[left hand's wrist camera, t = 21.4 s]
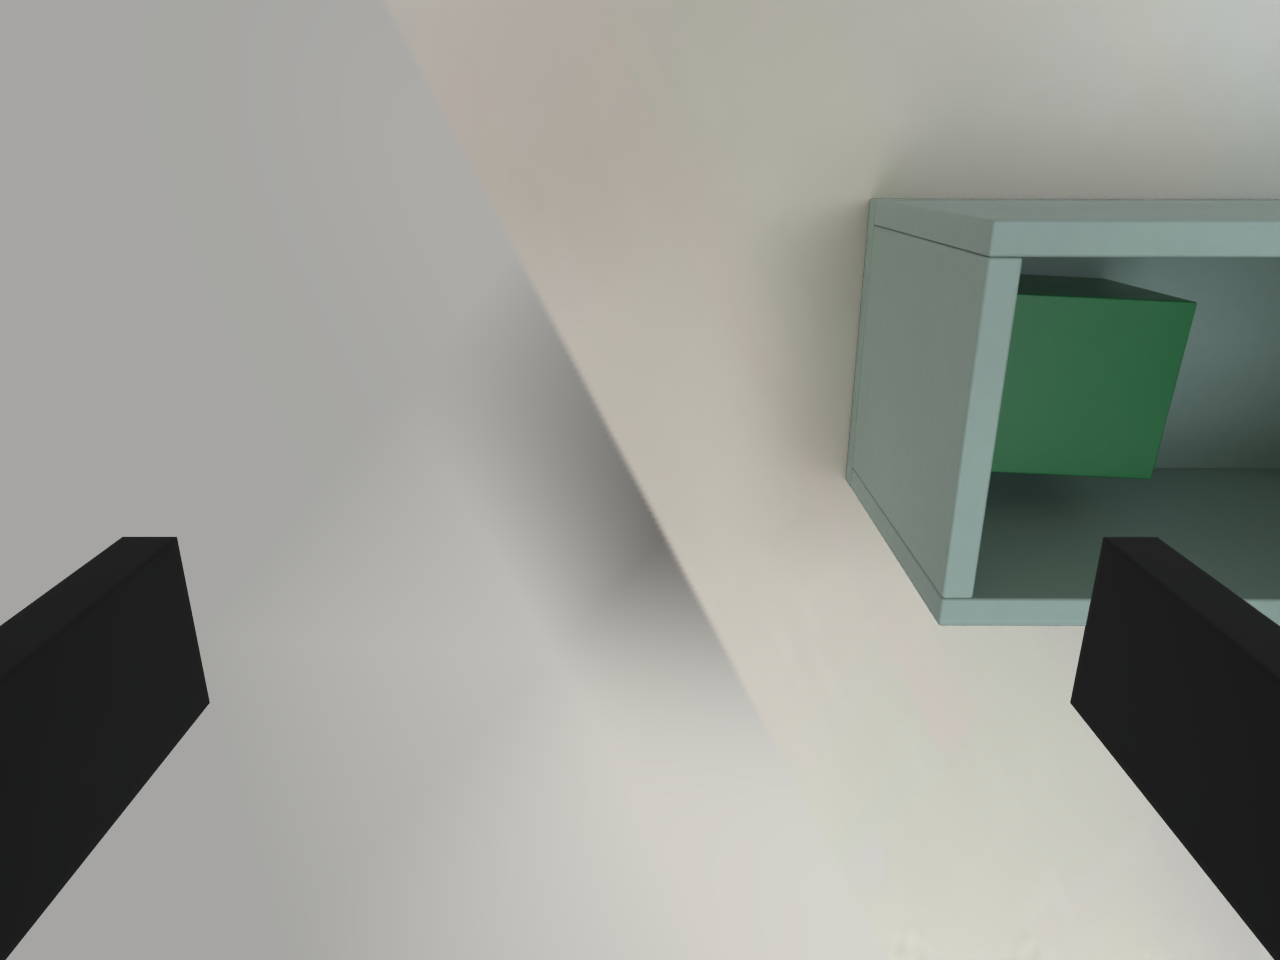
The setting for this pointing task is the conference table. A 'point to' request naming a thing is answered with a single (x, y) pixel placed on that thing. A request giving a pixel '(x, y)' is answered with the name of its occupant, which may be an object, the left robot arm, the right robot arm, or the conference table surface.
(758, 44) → the conference table surface
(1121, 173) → the conference table surface
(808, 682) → the conference table surface
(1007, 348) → the chest
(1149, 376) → the block
